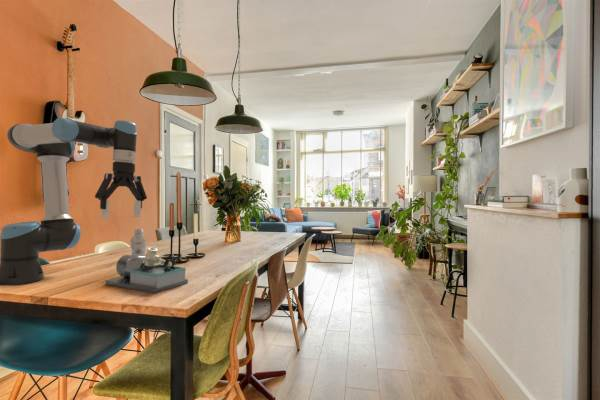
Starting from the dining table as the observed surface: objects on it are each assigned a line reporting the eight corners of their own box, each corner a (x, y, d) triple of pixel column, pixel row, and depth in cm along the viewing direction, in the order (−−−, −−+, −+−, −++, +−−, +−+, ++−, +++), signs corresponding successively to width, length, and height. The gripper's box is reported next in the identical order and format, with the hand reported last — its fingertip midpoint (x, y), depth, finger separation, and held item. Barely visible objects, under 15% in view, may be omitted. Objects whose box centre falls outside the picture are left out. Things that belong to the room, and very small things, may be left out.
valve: (138, 264, 125) (163, 274, 121) (142, 248, 124) (166, 257, 121) (151, 261, 131) (175, 271, 127) (154, 246, 130) (178, 255, 127)
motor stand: (105, 284, 126) (106, 257, 126) (142, 275, 141) (143, 251, 141) (153, 293, 115) (154, 264, 115) (187, 282, 131) (188, 257, 131)
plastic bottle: (145, 274, 144) (146, 229, 144) (128, 275, 142) (129, 229, 142) (146, 271, 150) (147, 228, 150) (130, 271, 148) (131, 228, 148)
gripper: (99, 157, 110) (96, 219, 110) (157, 165, 133) (155, 216, 133) (84, 157, 113) (82, 218, 113) (144, 165, 136) (142, 215, 136)
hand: (121, 217), depth 123 cm, fingers open, 13 cm apart
